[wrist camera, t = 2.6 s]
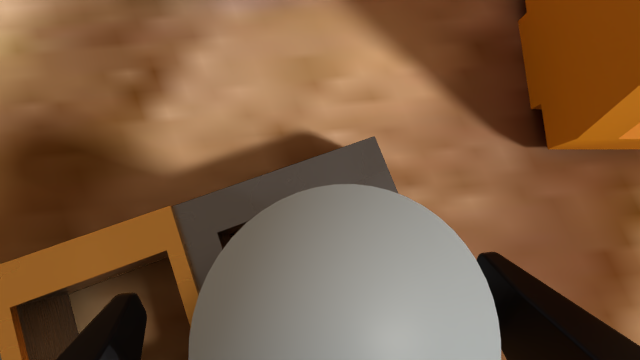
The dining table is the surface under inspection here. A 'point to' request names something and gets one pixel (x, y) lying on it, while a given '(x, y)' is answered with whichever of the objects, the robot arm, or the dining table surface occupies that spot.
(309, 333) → the peg
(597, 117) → the bracket
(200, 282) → the grey boxy holed piece
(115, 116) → the dining table surface
